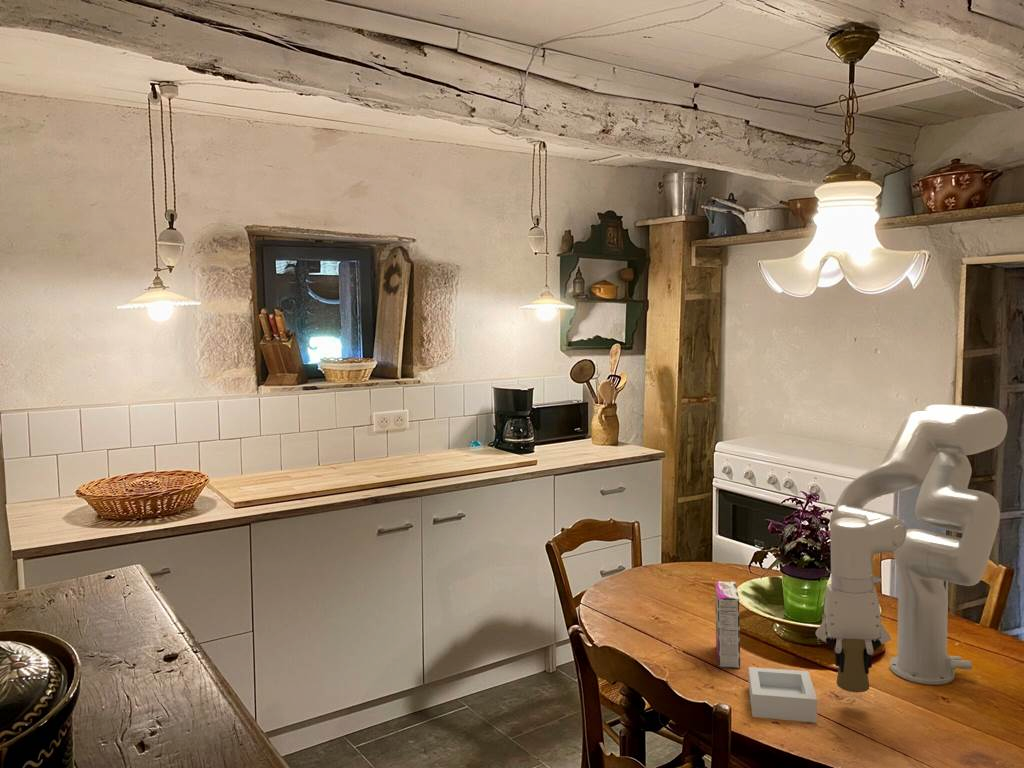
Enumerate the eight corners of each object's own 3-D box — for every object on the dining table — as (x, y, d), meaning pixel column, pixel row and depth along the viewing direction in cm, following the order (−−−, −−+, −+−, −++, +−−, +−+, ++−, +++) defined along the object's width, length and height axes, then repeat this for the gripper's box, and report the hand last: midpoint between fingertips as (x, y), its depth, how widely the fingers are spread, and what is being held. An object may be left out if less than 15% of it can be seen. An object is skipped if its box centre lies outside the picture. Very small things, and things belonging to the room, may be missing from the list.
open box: (808, 694, 161) (808, 671, 161) (817, 724, 150) (817, 699, 149) (748, 689, 164) (748, 666, 164) (752, 718, 152) (752, 694, 152)
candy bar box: (714, 646, 184) (714, 580, 183) (736, 647, 183) (736, 581, 182) (717, 667, 174) (717, 597, 172) (740, 669, 173) (740, 598, 171)
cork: (841, 674, 158) (840, 623, 157) (873, 682, 154) (872, 630, 153) (832, 687, 153) (831, 634, 152) (864, 695, 150) (863, 641, 148)
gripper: (893, 575, 153) (894, 663, 155) (804, 573, 157) (806, 659, 159) (902, 590, 146) (903, 681, 148) (809, 587, 150) (811, 676, 152)
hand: (853, 669), depth 153 cm, fingers closed on cork, 3 cm apart
